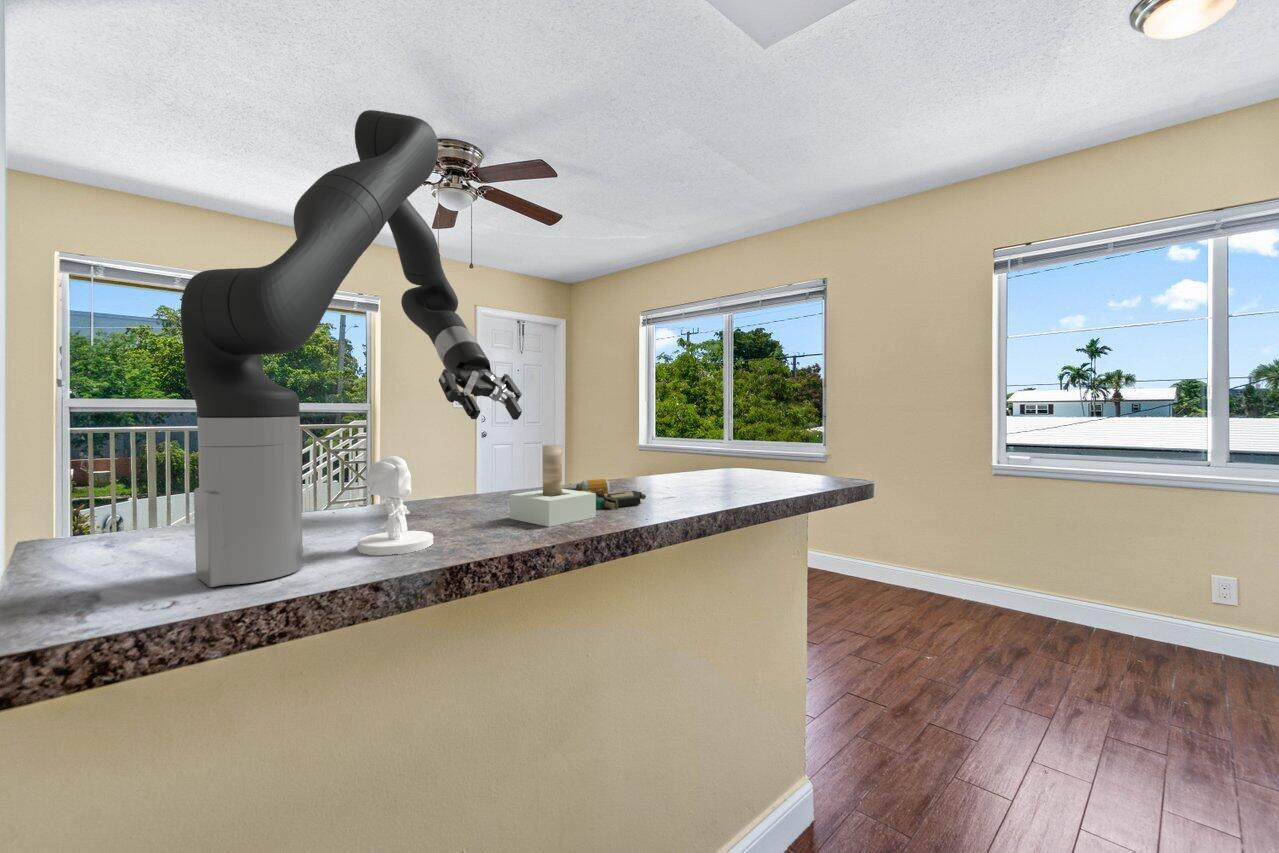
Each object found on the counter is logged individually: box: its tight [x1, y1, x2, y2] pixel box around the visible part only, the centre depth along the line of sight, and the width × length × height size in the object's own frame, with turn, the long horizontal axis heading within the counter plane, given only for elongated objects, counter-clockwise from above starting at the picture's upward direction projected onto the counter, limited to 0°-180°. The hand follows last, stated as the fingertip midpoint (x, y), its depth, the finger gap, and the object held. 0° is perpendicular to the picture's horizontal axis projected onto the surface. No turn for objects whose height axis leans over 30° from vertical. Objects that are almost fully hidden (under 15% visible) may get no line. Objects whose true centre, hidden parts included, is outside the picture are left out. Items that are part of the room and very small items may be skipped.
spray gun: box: [562, 478, 647, 510], centre depth 108 cm, size 4×17×15 cm
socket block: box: [509, 489, 597, 528], centre depth 93 cm, size 10×10×4 cm
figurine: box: [357, 455, 434, 556], centre depth 74 cm, size 9×9×12 cm
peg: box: [542, 444, 563, 497], centre depth 93 cm, size 3×3×12 cm
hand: (498, 416), depth 98 cm, fingers open, 8 cm apart
